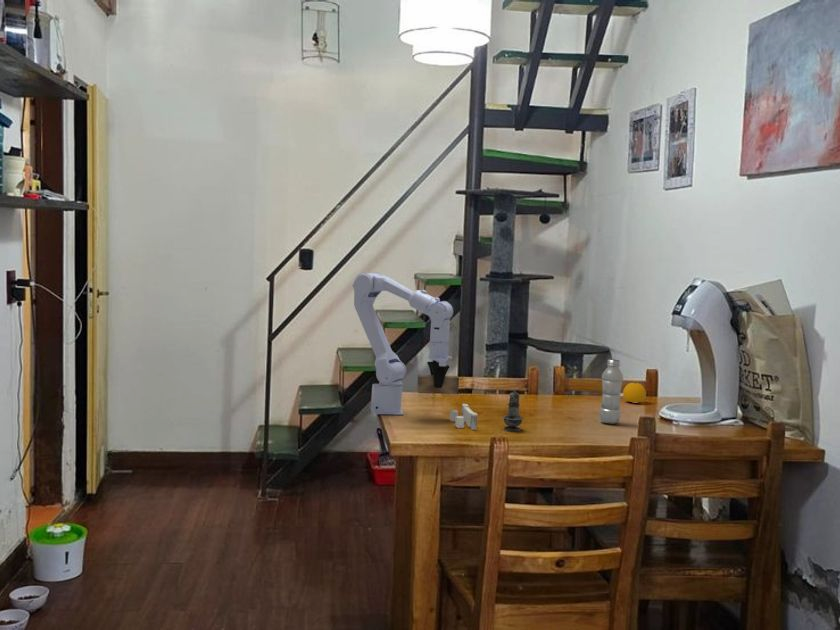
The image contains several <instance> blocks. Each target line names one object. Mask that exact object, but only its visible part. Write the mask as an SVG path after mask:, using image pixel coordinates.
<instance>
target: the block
mask: <svg viewBox="0 0 840 630" xmlns="http://www.w3.org/2000/svg"><path fill="white" fill-rule="evenodd" d="M459 385H460V377H459V376H458V375H445V378H444V382H443V386H442V388H435V386H434V378H433V375H431V374H418V375H417V383H416V386H417V388H416V392H417V393H418V394H435V395H436V394H440V395H445V394H446V395H459Z"/></svg>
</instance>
